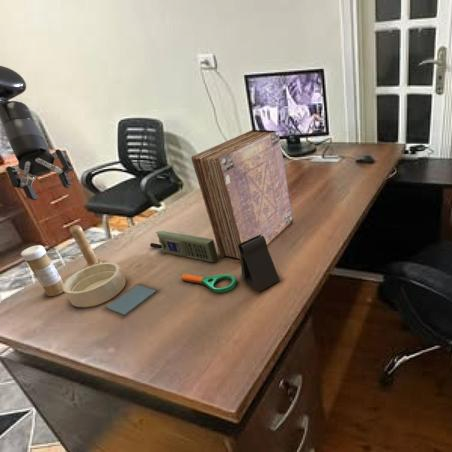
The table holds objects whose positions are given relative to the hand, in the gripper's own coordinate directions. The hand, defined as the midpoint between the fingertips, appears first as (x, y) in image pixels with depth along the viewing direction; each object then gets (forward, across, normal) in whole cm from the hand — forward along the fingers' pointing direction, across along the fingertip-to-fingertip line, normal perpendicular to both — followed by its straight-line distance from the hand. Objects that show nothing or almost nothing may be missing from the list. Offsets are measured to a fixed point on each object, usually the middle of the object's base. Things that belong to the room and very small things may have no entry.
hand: (51, 193), depth 96 cm
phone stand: (+46, +42, -14) cm, 63 cm away
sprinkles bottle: (+26, -8, -1) cm, 27 cm away
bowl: (+31, +3, -5) cm, 31 cm away
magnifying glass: (+41, +29, -12) cm, 52 cm away
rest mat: (+36, +11, -11) cm, 40 cm away
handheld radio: (+30, +24, +4) cm, 38 cm away
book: (+34, +46, +3) cm, 57 cm away
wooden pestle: (+22, 0, +7) cm, 23 cm away
